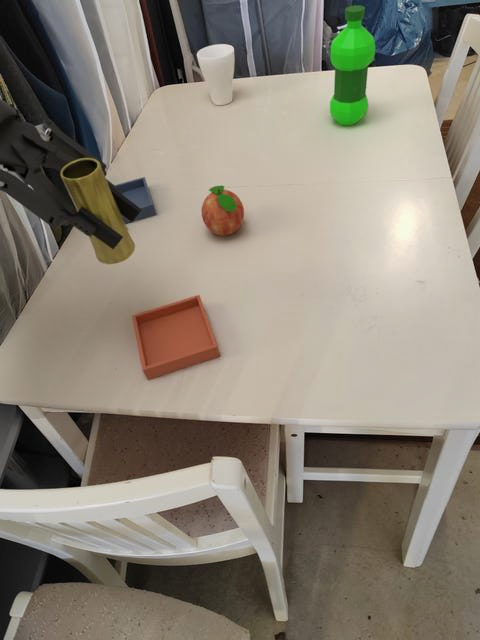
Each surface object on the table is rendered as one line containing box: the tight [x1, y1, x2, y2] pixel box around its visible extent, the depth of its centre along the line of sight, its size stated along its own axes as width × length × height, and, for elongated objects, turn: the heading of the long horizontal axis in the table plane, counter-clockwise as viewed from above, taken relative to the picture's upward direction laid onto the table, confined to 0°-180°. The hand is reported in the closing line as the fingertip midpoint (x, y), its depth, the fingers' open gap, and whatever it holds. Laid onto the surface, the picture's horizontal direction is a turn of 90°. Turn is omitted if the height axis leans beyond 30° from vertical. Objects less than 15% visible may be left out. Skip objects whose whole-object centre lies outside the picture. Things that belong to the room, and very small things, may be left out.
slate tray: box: [114, 176, 157, 225], centre depth 101 cm, size 12×12×3 cm
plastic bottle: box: [329, 5, 376, 127], centre depth 106 cm, size 10×10×25 cm
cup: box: [196, 43, 236, 106], centre depth 127 cm, size 10×10×14 cm
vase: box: [59, 158, 136, 265], centre depth 63 cm, size 6×6×14 cm
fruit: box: [201, 185, 245, 237], centre depth 89 cm, size 9×10×10 cm
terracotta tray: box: [131, 294, 221, 380], centre depth 74 cm, size 12×12×3 cm
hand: (127, 228), depth 64 cm, fingers closed on vase, 5 cm apart
